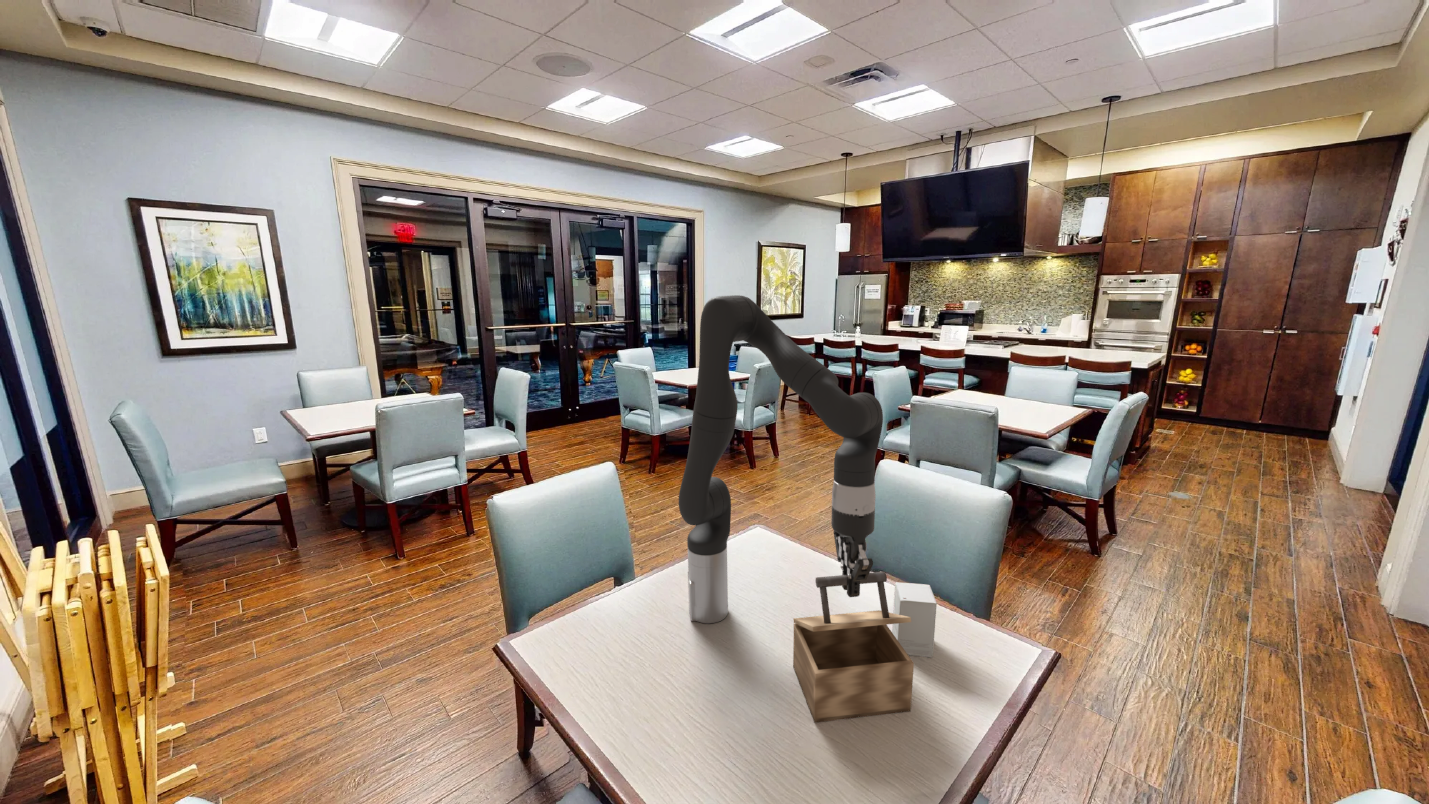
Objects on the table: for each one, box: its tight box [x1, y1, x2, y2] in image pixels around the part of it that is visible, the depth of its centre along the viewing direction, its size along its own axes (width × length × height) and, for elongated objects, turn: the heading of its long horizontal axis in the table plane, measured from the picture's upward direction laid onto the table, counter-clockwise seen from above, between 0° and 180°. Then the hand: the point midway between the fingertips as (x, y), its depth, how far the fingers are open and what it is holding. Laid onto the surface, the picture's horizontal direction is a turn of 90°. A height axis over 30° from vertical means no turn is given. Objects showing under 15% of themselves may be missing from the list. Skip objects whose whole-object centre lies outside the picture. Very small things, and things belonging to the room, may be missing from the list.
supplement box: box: [891, 581, 938, 658], centre depth 110 cm, size 7×7×13 cm
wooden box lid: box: [792, 571, 911, 632], centre depth 99 cm, size 18×14×9 cm
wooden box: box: [792, 623, 915, 724], centre depth 98 cm, size 18×14×10 cm
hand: (850, 592), depth 96 cm, fingers closed on wooden box lid, 2 cm apart
